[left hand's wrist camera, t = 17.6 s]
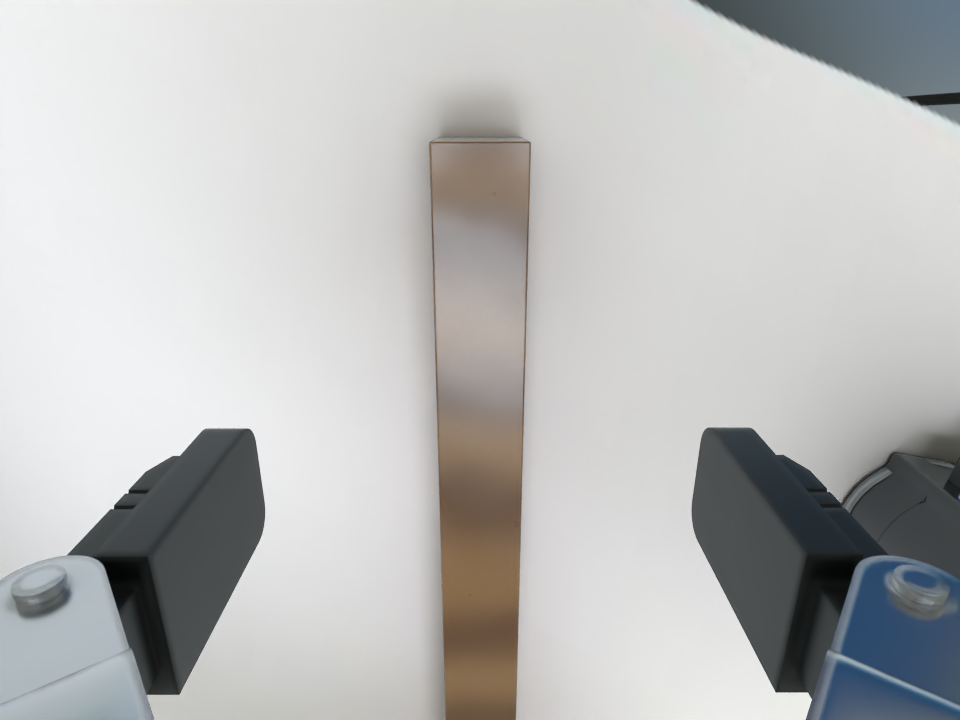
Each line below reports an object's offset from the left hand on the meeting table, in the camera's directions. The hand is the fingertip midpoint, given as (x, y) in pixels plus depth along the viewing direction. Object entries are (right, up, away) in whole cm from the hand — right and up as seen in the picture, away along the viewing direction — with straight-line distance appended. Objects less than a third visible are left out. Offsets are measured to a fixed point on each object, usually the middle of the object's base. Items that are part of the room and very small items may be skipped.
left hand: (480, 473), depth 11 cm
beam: (0, -12, +33) cm, 35 cm away
